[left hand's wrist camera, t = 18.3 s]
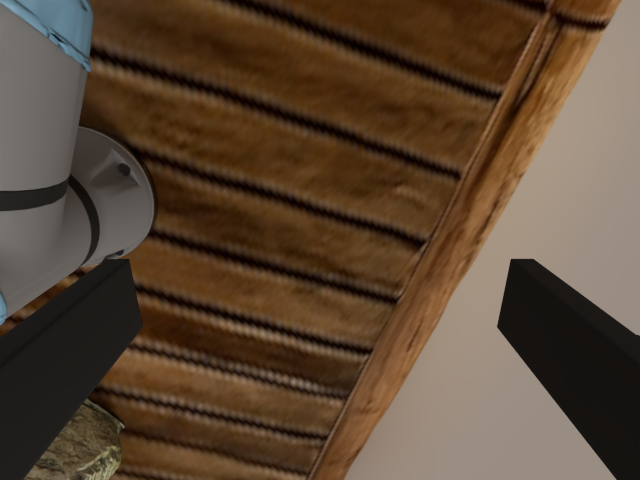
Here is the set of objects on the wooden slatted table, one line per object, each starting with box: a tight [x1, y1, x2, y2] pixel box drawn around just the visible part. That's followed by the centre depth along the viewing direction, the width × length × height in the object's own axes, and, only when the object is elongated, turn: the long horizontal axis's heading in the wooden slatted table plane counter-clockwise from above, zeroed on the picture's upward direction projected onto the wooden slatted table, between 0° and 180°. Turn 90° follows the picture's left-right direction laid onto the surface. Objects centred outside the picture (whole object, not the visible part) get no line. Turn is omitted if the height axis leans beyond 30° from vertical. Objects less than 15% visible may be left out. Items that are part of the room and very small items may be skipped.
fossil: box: [23, 399, 124, 480], centre depth 46 cm, size 9×18×15 cm, turn 66°
